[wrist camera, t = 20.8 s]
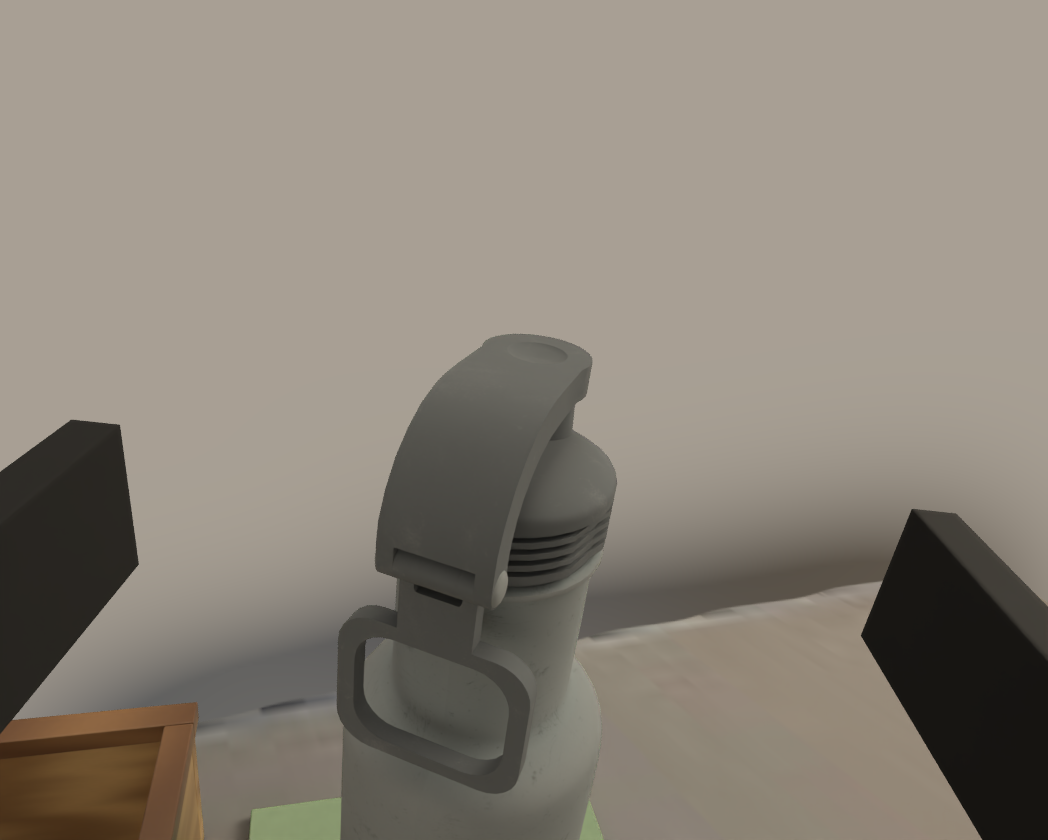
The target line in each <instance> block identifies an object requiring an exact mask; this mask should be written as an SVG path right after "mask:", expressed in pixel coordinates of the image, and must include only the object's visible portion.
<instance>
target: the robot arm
mask: <svg viewBox="0 0 1048 840" xmlns="http://www.w3.org/2000/svg"><path fill="white" fill-rule="evenodd" d="M138 565H139V563H138V556H137V548H136V541H135V533H134V526H133V519H132V512H131V504H130V496H129V489H128V482H127V474H126V467H125V460H124V452H123V445H122V437H121V430H120V425H117V424H107V423H98V422H88V421H79V420H70V421H69V422H68V423H66V424H65V425H64V426H62V427H61V428H59V429H58V430H57V431H55V432H54V433H53V434H51V435H50V436H48V437H47V438H46V439H44V440H43V441H42V442H40V443H39V444H38V445H36V446H35V447H33V448H32V449H31V450H29V451H28V452H27V453H25V454H24V455H22V456H21V457H20V458H18V459H17V460H16V461H14V462H13V463H12V464H10V465H9V466H8V467H6V468H5V469H3V470H2V471H1V472H0V734H1V733H2V731H3V730H4V729H5V728H6V726H7V725H8V724H9V723H10V722H11V720H12V719H13V718H14V717H15V715H16V714H17V713H18V712H19V711H20V709H21V708H22V707H23V706H24V704H25V703H26V702H27V701H28V700H29V698H30V697H31V696H32V695H33V693H34V692H35V691H36V690H37V688H38V687H39V686H40V685H41V684H42V682H43V681H44V680H45V679H46V677H47V676H48V675H49V674H50V673H51V671H52V670H53V669H54V668H55V666H56V665H57V664H58V663H59V661H60V660H61V659H62V658H63V657H64V655H65V654H66V653H67V652H68V650H69V649H70V648H71V647H72V646H73V644H74V643H75V642H76V641H77V639H78V638H79V637H80V636H81V634H82V633H83V632H84V631H85V630H86V628H87V627H88V626H89V625H90V623H91V622H92V621H93V620H94V619H95V617H96V616H97V615H98V614H99V612H100V611H101V610H102V609H103V608H104V606H105V605H106V604H107V603H108V601H109V600H110V599H111V598H112V597H113V595H114V594H115V593H116V591H117V590H118V589H119V588H120V587H121V585H122V584H123V583H124V582H125V580H126V579H127V578H128V577H129V576H130V574H131V573H132V572H133V571H134V569H135V568H136V567H137V566H138ZM861 637H862V638H863V640H864V642H865V643H866V645H867V647H868V648H869V650H870V652H871V653H872V655H873V657H874V658H875V660H876V662H877V664H878V665H879V667H880V669H881V670H882V672H883V674H884V675H885V677H886V679H887V680H888V682H889V684H890V685H891V687H892V689H893V690H894V692H895V694H896V695H897V697H898V699H899V700H900V702H901V704H902V706H903V707H904V709H905V711H906V712H907V714H908V716H909V717H910V719H911V721H912V722H913V724H914V726H915V727H916V729H917V731H918V732H919V734H920V736H921V737H922V739H923V741H924V742H925V744H926V746H927V747H928V749H929V751H930V753H931V754H932V756H933V758H934V759H935V761H936V763H937V764H938V766H939V768H940V769H941V771H942V773H943V774H944V776H945V778H946V779H947V781H948V783H949V784H950V786H951V788H952V789H953V791H954V793H955V795H956V796H957V798H958V800H959V801H960V803H961V805H962V806H963V808H964V810H965V811H966V813H967V815H968V816H969V818H970V820H971V821H972V823H973V825H974V826H975V828H976V830H977V831H978V833H979V835H980V837H981V838H982V840H1048V606H1047V605H1046V604H1045V603H1044V602H1043V601H1042V600H1041V599H1040V598H1039V597H1038V596H1037V595H1036V594H1035V593H1034V592H1033V591H1032V590H1031V589H1030V588H1029V587H1028V586H1027V585H1026V584H1025V583H1024V582H1023V581H1022V580H1021V579H1020V578H1019V577H1018V576H1017V575H1016V574H1015V573H1014V572H1013V571H1012V570H1011V569H1010V568H1009V567H1008V566H1007V565H1006V564H1005V563H1004V562H1003V561H1002V560H1001V559H1000V558H999V557H998V556H997V555H996V554H995V553H994V552H993V551H992V550H991V549H990V548H989V547H988V546H987V545H986V543H984V541H983V540H982V539H980V537H978V535H977V534H976V533H975V532H974V531H973V530H972V529H971V528H970V527H969V526H968V525H967V524H966V523H965V522H964V521H963V520H962V519H961V518H960V517H959V516H958V515H957V514H954V513H945V512H936V511H926V510H917V509H912V510H911V513H910V515H909V518H908V520H907V523H906V525H905V528H904V530H903V532H902V535H901V537H900V540H899V542H898V545H897V547H896V550H895V552H894V555H893V557H892V560H891V562H890V565H889V567H888V570H887V572H886V575H885V577H884V580H883V582H882V585H881V587H880V590H879V592H878V594H877V597H876V599H875V602H874V604H873V607H872V609H871V612H870V614H869V617H868V619H867V622H866V624H865V627H864V629H863V632H862V634H861Z"/></svg>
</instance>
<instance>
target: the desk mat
mask: <svg viewBox="0 0 1048 840" xmlns="http://www.w3.org/2000/svg"><path fill="white" fill-rule="evenodd" d="M340 833H341V797H340V798H333V799H325V800H318V801H311V802H304V803H296V804H289V805H282V806H275V807H267V808H260V809H253V810H252V811H251V820H250V831H249V840H340ZM579 840H604V839H603V836H602V833H601V831H600V828H599V825H598V823H597V820H596V817H595V814H594V812H593V809H592V806H591V803H590V801H588V805H587V809H586V814H585V818H584V822H583V826H582V831H581V835H580V839H579Z"/></svg>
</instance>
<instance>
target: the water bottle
mask: <svg viewBox="0 0 1048 840" xmlns="http://www.w3.org/2000/svg"><path fill="white" fill-rule="evenodd" d="M591 367H592V357H591V356H590V354H589V353H587V352H586V351H585V350H584V349H582V348H580V347H578V346H576V345H574V344H572V343H568V342H566V341H563V340H559V339H555V338H551V337H545V336H539V335H530V334H508V335H501V336H496V337H492V338H490V339H488V340H486V341H485V342H484V343H483V345H482V347H480V348H479V349H477V350H476V351H475V352H473V353H472V354H470V355H469V356H468V357H466V358H465V359H463V360H462V361H460V362H459V363H457V364H456V365H455V366H454V367H452V368H451V369H450V370H449V371H447V372H446V373H445V374H444V375H443V376H442V377H441V378H440V379H439V380H438V381H437V382H436V384H435V385H434V386H433V387H432V389H431V390H430V392H429V393H428V394H427V396H426V397H425V399H424V400H423V401H422V403H421V404H420V406H419V408H418V410H417V412H416V414H415V416H414V417H413V419H412V421H411V423H410V425H409V427H408V429H407V431H406V434H405V436H404V438H403V441H402V443H401V445H400V448H399V450H398V452H397V455H396V457H395V460H394V464H393V467H392V470H391V473H390V476H389V479H388V483H387V486H386V489H385V493H384V497H383V502H382V507H381V511H380V515H379V520H378V530H377V540H376V554H375V567H376V570H377V571H378V572H381V573H384V574H387V575H390V576H392V577H395V578H397V589H396V604H395V611H394V610H391V609H388V608H385V607H381V606H377V605H369V606H365V607H362V608H360V609H358V610H357V611H356V612H354V613H353V615H352V616H351V617H350V618H349V619H348V620H347V621H346V622H345V623H344V624H343V626H342V628H341V629H340V631H339V637H338V674H337V711H338V715H339V717H340V720H341V722H342V723H343V725H344V729H343V758H342V795H341V833H340V840H579V839H580V835H581V831H582V826H583V822H584V818H585V814H586V809H587V805H588V801H589V797H590V793H591V788H592V784H593V780H594V776H595V771H596V767H597V762H598V757H599V751H600V746H601V738H602V722H601V710H600V704H599V701H598V698H597V695H596V691H595V688H594V686H593V684H592V682H591V680H590V679H589V677H588V675H587V673H586V672H585V670H584V668H583V666H582V665H581V664H580V662H579V661H578V660H577V659H576V658H575V657H574V655H575V650H576V645H577V640H578V635H579V630H580V625H581V619H582V614H583V609H584V605H585V599H586V595H587V589H588V584H589V580H590V577H592V575H593V574H594V572H595V571H596V569H597V568H598V566H599V565H600V563H601V559H602V555H603V551H604V550H603V547H604V543H605V539H606V535H607V529H608V525H609V519H610V515H611V509H612V505H613V500H614V495H615V491H616V485H617V479H616V472H615V469H614V467H613V465H612V463H611V461H610V459H609V458H608V456H607V455H606V454H605V453H604V452H603V451H602V450H601V449H600V448H599V447H598V446H597V445H595V444H594V443H593V442H591V441H590V440H588V439H587V438H585V437H584V436H582V435H580V434H578V433H577V432H575V431H573V430H572V426H573V417H574V408H575V404H576V403H577V402H579V401H581V400H582V399H583V398H584V397H585V396H586V394H587V389H588V383H589V378H590V372H591ZM373 637H383V638H386V639H385V640H384V641H383V642H382V643H381V644H380V645H379V646H378V647H377V648H376V649H375V650H374V651H373V652H372V653H371V654H370V655H369V656H368V657H367V658H366V660H365V643H366V639H369V638H373Z"/></svg>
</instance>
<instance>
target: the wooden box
mask: <svg viewBox="0 0 1048 840" xmlns="http://www.w3.org/2000/svg"><path fill="white" fill-rule="evenodd" d="M198 718H199V717H198V706H197V702H194V703H183V704H174V705H163V706H153V707H142V708H132V709H123V710H111V711H101V712H92V713H81V714H71V715H60V716H50V717H39V718H30V719H19V720H11V722H10V723H9V724H8V725H7V726H6V728H5V729H4V730H3V731H2V733H1V734H0V840H204V830H203V820H202V809H201V799H200V788H199V777H198V767H197V756H196V746H195V735H196V729H197V724H198Z"/></svg>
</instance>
